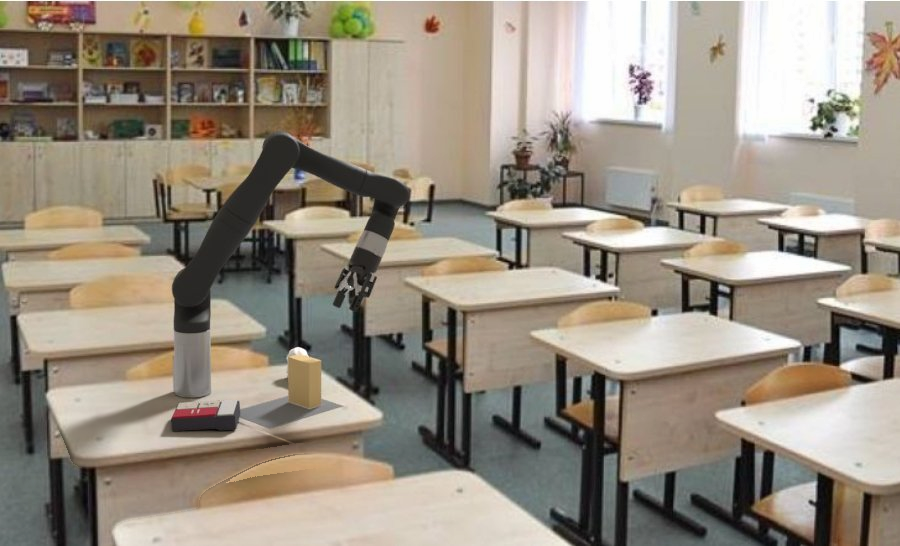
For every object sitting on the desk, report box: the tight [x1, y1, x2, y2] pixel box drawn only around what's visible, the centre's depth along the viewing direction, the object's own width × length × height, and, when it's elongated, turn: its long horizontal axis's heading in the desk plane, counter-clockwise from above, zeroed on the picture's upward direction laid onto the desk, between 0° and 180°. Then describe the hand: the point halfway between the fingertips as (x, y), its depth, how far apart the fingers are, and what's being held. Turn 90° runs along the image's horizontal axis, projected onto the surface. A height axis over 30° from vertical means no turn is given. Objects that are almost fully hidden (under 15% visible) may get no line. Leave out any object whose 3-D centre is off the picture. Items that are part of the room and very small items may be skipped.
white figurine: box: [286, 346, 310, 379], centre depth 291 cm, size 6×8×12 cm
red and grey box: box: [170, 399, 241, 432], centre depth 256 cm, size 11×4×15 cm
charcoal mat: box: [239, 395, 343, 429], centre depth 267 cm, size 16×24×1 cm, turn 139°
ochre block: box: [287, 354, 322, 409], centre depth 270 cm, size 8×4×12 cm, turn 49°
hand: (344, 308), depth 273 cm, fingers open, 8 cm apart
